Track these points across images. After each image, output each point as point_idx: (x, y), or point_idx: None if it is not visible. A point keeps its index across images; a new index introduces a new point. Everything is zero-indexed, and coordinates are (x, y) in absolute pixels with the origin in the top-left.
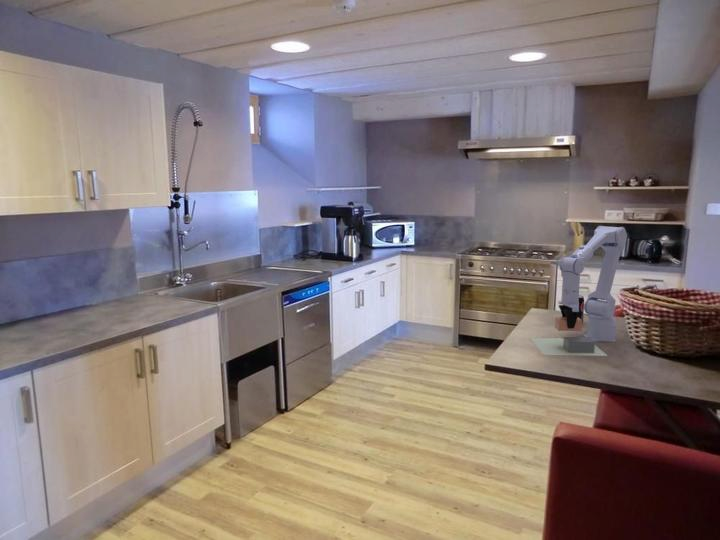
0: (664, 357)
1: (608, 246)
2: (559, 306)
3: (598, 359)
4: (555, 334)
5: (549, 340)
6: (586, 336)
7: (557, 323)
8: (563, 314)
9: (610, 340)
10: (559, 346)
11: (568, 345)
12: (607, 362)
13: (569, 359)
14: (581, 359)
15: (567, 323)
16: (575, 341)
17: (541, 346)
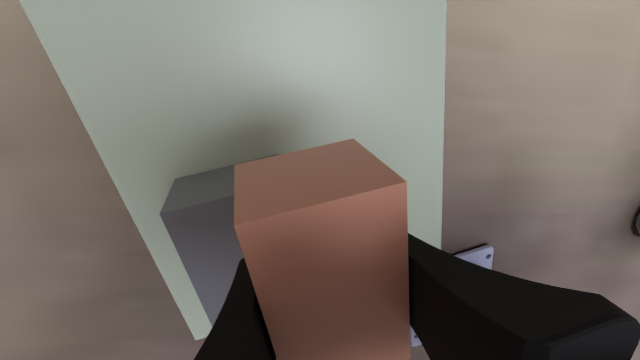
0: None
1: None
2: (561, 334)
3: (133, 308)
4: (523, 123)
5: (402, 79)
6: (467, 257)
7: (300, 176)
8: (431, 284)
9: (415, 333)
10: (289, 133)
11: (167, 199)
12: (100, 341)
13: (44, 180)
14: (86, 241)
15: (229, 290)
16: (189, 253)
17: (256, 6)
